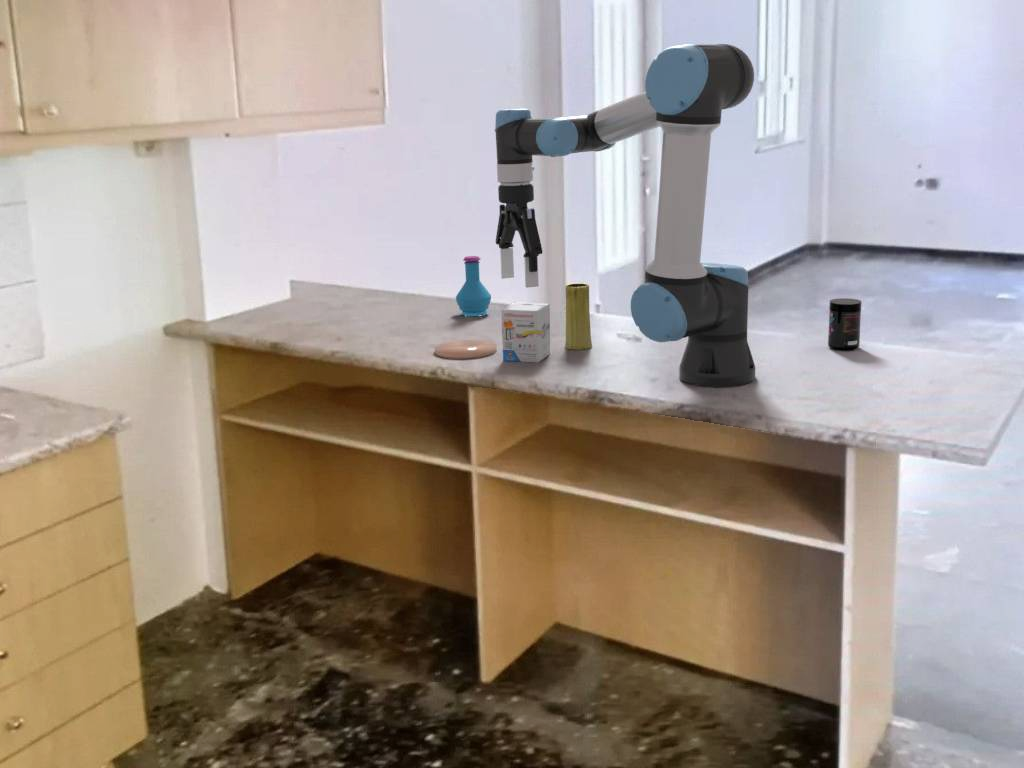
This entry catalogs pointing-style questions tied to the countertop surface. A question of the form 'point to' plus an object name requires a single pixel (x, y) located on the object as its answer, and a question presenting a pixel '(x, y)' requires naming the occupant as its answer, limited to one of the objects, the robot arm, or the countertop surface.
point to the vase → (577, 317)
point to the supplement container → (844, 324)
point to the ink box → (526, 332)
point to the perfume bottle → (473, 290)
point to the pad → (465, 349)
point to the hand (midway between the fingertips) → (519, 282)
